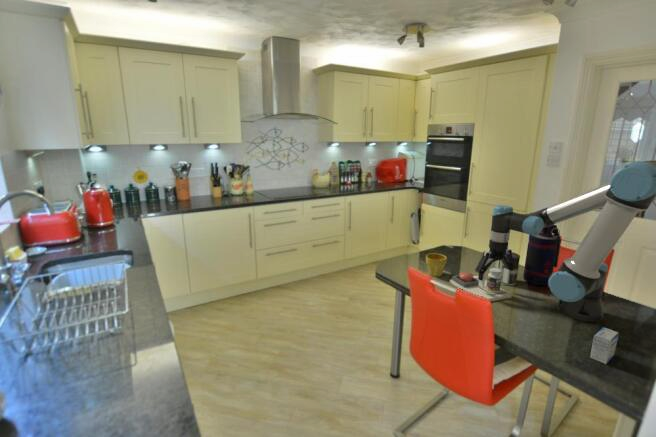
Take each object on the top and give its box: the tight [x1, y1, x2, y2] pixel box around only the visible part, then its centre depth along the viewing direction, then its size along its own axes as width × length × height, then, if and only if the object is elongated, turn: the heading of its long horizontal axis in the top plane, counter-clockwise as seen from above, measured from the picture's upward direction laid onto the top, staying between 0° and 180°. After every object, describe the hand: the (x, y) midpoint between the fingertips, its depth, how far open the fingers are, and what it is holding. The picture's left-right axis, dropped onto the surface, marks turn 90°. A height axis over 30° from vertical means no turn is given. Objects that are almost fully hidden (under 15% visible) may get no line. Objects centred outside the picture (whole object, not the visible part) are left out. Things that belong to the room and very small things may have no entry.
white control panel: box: [449, 274, 513, 302], centre depth 159 cm, size 22×16×4 cm
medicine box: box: [590, 327, 620, 365], centre depth 111 cm, size 8×4×9 cm, turn 126°
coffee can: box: [494, 251, 521, 286], centre depth 167 cm, size 10×10×14 cm
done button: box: [459, 271, 474, 282], centre depth 163 cm, size 6×6×2 cm
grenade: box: [522, 224, 562, 287], centre depth 164 cm, size 14×12×30 cm
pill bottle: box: [486, 267, 502, 292], centre depth 154 cm, size 6×6×10 cm
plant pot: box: [425, 253, 448, 278], centre depth 176 cm, size 10×10×10 cm
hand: (493, 284), depth 155 cm, fingers open, 13 cm apart
